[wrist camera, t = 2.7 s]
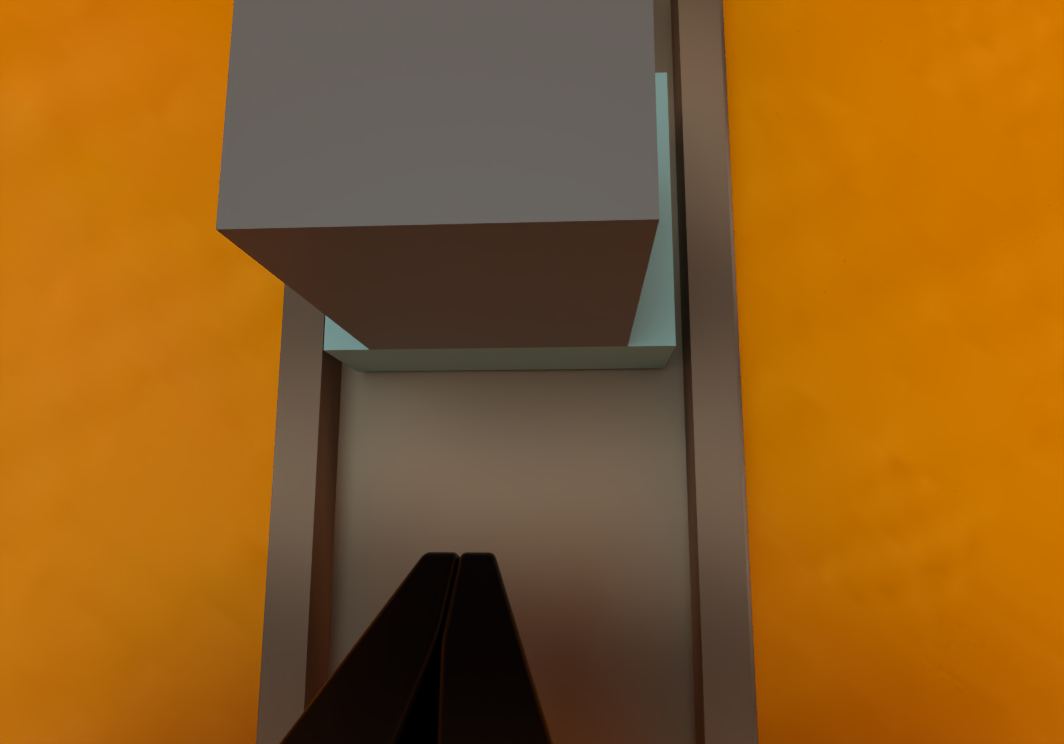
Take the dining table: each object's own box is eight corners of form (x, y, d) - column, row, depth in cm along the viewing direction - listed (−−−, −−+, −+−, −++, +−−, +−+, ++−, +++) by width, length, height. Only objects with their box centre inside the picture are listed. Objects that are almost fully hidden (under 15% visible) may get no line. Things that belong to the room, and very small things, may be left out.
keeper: (663, 368, 15) (743, 217, 8) (356, 371, 15) (138, 231, 8) (657, 127, 16) (721, -224, 8) (367, 136, 16) (180, -191, 9)
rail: (756, 1052, 14) (892, 1474, 8) (278, 1030, 15) (53, 1408, 9) (702, -161, 19) (760, -498, 13) (341, -141, 20) (225, -454, 13)
